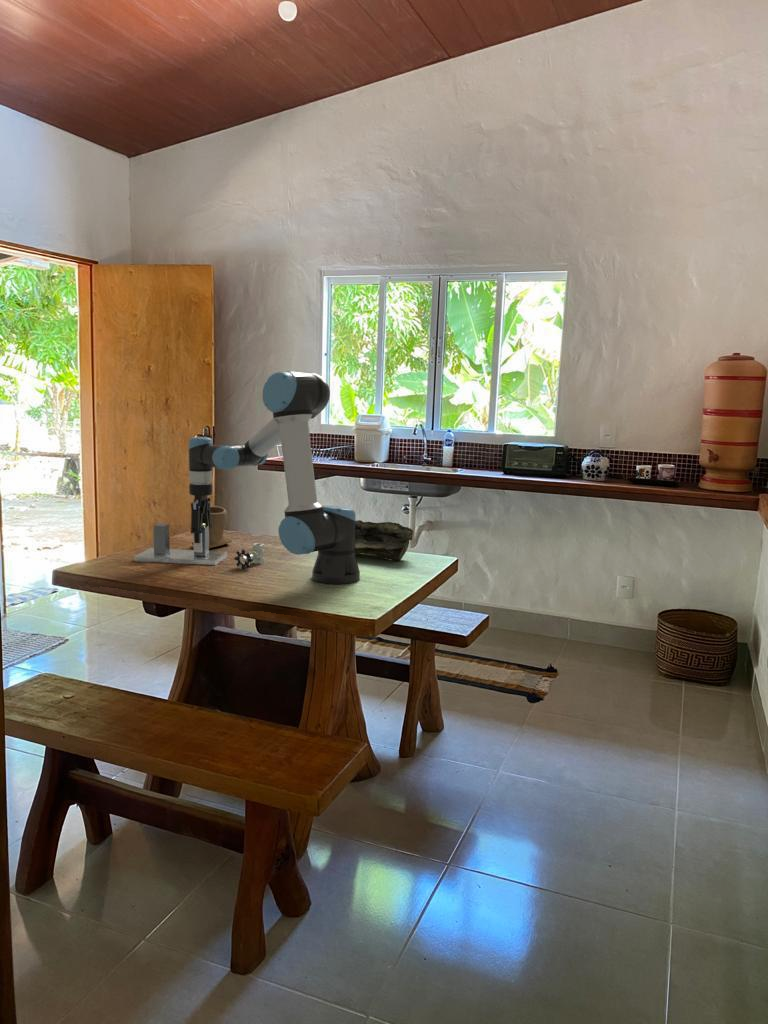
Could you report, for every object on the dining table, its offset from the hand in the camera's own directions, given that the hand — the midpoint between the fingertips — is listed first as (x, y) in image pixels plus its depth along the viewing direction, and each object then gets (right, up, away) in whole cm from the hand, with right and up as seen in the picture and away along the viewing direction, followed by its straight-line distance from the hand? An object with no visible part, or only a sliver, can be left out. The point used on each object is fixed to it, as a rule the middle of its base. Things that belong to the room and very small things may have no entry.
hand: (201, 549), depth 260 cm
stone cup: (0, 0, +21) cm, 21 cm away
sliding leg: (0, -2, 0) cm, 2 cm away
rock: (+60, -4, +10) cm, 61 cm away
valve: (+18, -5, -5) cm, 20 cm away
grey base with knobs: (-7, -3, +1) cm, 8 cm away
